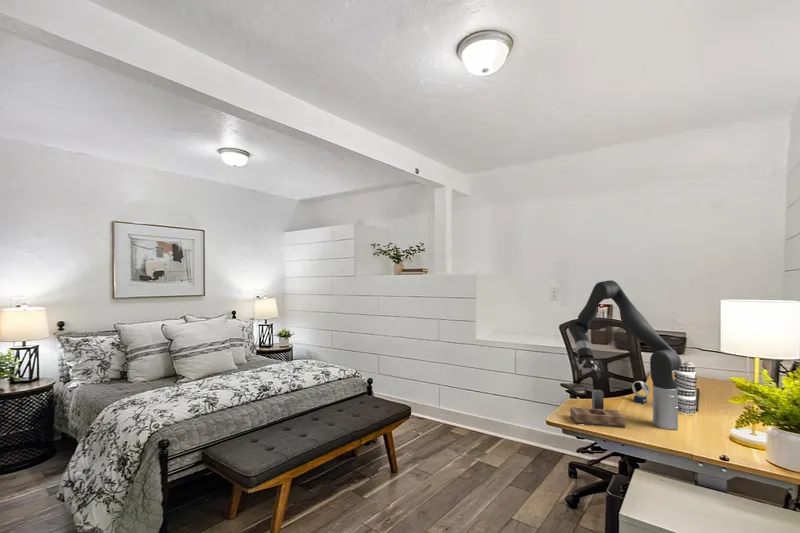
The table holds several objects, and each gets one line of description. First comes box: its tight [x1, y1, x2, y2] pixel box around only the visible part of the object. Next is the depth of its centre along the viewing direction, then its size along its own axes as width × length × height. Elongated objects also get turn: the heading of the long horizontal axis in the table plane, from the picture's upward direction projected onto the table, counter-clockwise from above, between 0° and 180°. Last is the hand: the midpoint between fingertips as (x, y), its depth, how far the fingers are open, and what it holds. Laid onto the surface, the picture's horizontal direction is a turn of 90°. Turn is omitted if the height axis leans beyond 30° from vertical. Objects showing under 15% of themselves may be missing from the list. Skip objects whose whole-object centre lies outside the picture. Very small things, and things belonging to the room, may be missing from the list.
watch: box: [631, 380, 650, 405], centre depth 212 cm, size 6×8×11 cm
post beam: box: [570, 406, 626, 429], centre depth 180 cm, size 20×10×4 cm, turn 81°
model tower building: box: [673, 360, 698, 414], centre depth 197 cm, size 9×9×25 cm
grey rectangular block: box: [591, 389, 605, 409], centre depth 192 cm, size 4×4×11 cm
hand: (590, 377), depth 203 cm, fingers open, 8 cm apart
